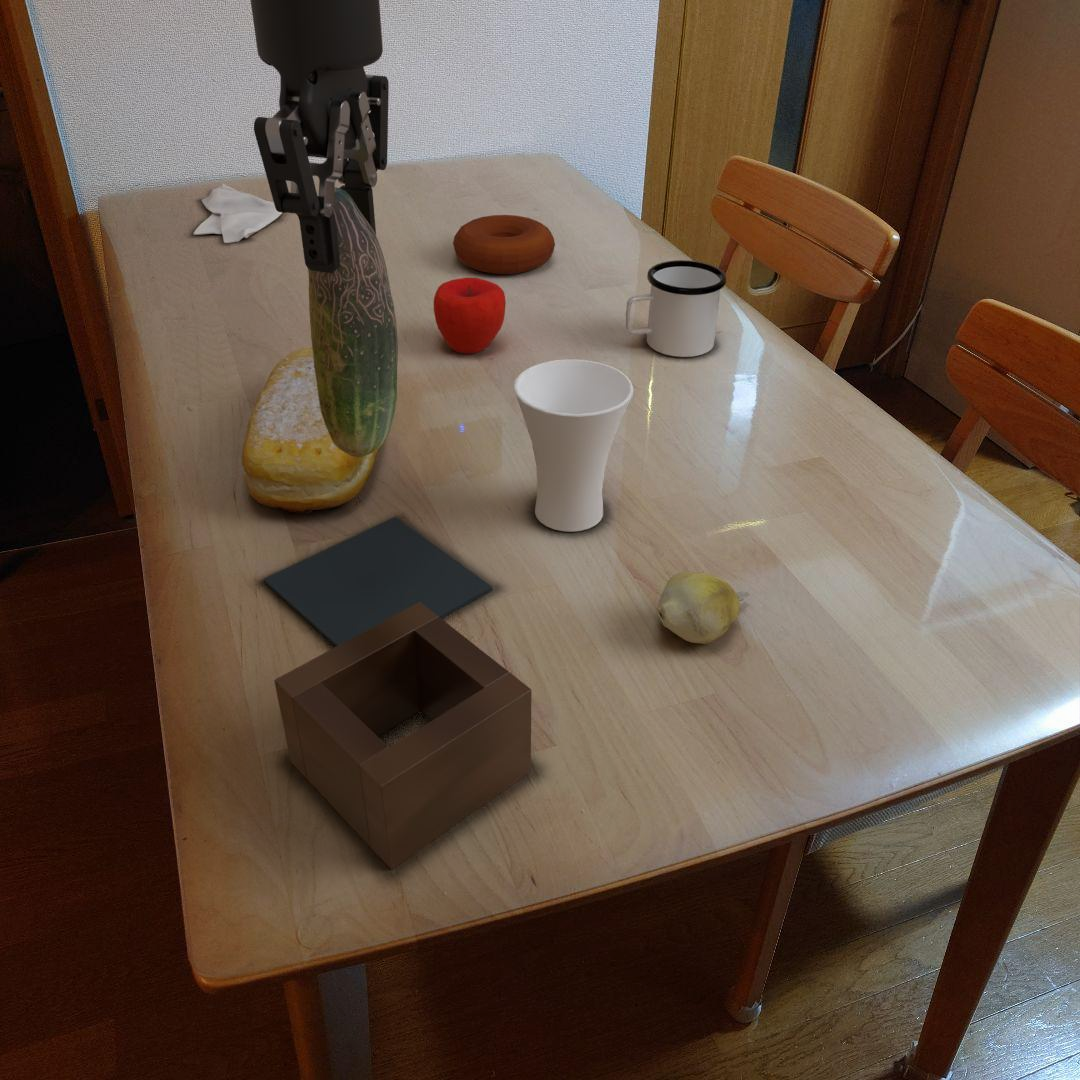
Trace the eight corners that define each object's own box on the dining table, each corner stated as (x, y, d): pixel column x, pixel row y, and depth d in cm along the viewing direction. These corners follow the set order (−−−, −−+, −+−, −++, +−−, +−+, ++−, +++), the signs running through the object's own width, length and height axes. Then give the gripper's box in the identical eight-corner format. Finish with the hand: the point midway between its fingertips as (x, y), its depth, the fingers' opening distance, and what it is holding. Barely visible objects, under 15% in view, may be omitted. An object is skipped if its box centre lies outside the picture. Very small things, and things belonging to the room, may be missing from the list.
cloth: (281, 240, 154) (278, 226, 152) (187, 245, 152) (184, 230, 150) (286, 187, 174) (284, 174, 173) (204, 191, 172) (201, 177, 171)
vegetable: (309, 440, 79) (276, 179, 67) (382, 421, 82) (362, 166, 70) (340, 476, 75) (310, 203, 63) (416, 454, 77) (401, 189, 66)
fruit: (774, 622, 84) (696, 664, 77) (716, 606, 88) (638, 644, 82) (773, 557, 82) (694, 593, 76) (714, 543, 86) (635, 577, 80)
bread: (231, 526, 94) (216, 453, 89) (274, 391, 115) (263, 326, 110) (377, 522, 94) (369, 449, 90) (392, 389, 116) (387, 324, 111)
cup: (596, 557, 90) (604, 426, 82) (494, 526, 94) (491, 397, 86) (640, 499, 98) (651, 374, 90) (544, 472, 102) (546, 349, 94)
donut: (517, 235, 156) (517, 203, 153) (574, 265, 147) (576, 231, 144) (434, 255, 149) (433, 221, 146) (489, 287, 140) (489, 252, 137)
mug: (702, 324, 131) (710, 257, 125) (729, 356, 123) (738, 286, 118) (613, 332, 128) (617, 264, 123) (635, 365, 121) (640, 294, 116)
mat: (356, 665, 79) (355, 662, 79) (263, 582, 87) (263, 578, 87) (492, 590, 87) (492, 586, 86) (395, 520, 95) (395, 516, 95)
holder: (391, 870, 64) (380, 786, 59) (290, 761, 71) (273, 679, 66) (531, 771, 70) (531, 689, 66) (426, 681, 78) (419, 601, 73)
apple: (518, 354, 123) (519, 293, 119) (452, 368, 120) (450, 306, 115) (488, 326, 130) (487, 267, 125) (424, 339, 126) (420, 279, 122)
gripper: (312, -45, 65) (339, 216, 75) (187, -15, 54) (238, 286, 64) (419, -39, 64) (433, 228, 74) (312, -6, 53) (345, 302, 63)
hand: (342, 254), depth 69 cm, fingers closed on vegetable, 5 cm apart
